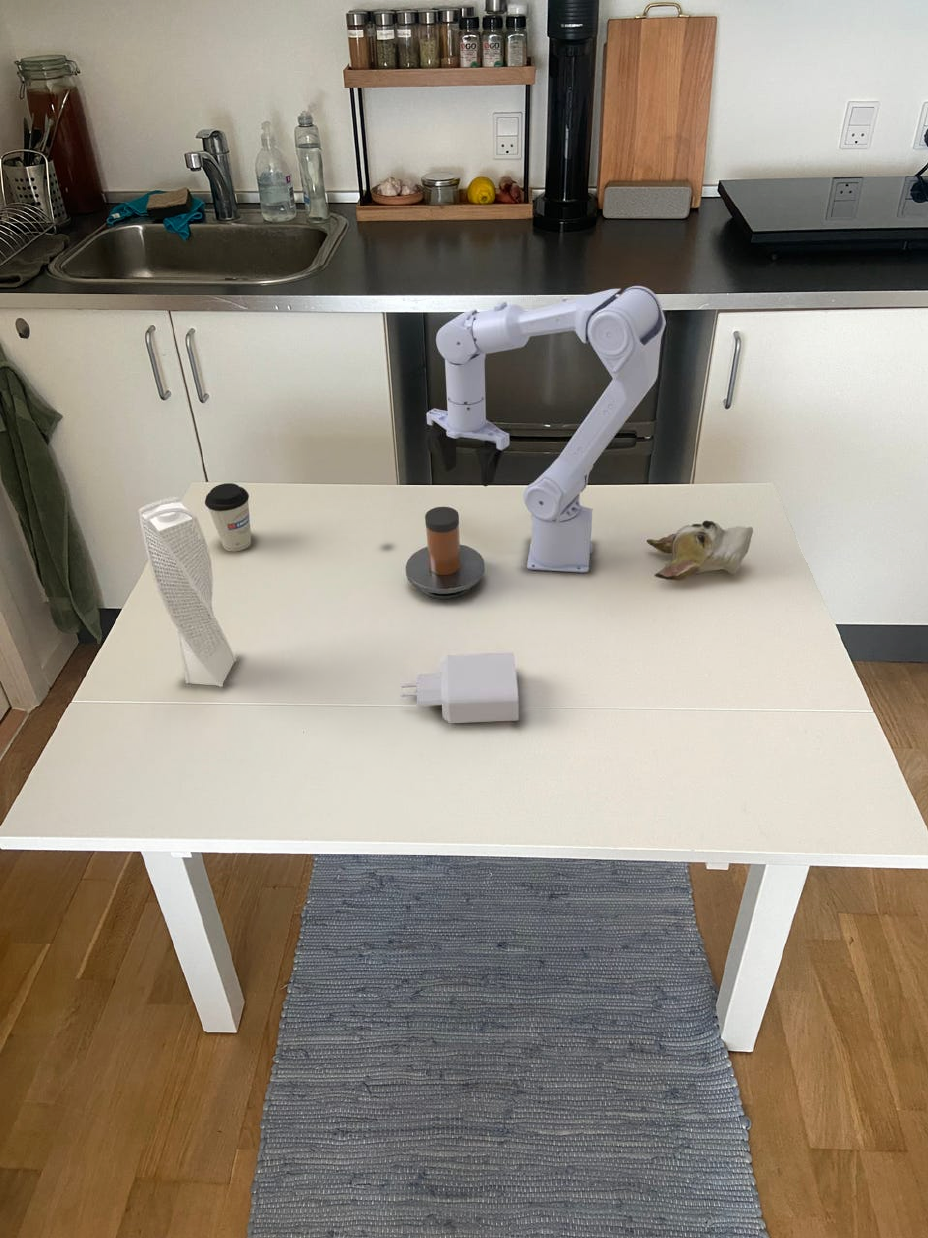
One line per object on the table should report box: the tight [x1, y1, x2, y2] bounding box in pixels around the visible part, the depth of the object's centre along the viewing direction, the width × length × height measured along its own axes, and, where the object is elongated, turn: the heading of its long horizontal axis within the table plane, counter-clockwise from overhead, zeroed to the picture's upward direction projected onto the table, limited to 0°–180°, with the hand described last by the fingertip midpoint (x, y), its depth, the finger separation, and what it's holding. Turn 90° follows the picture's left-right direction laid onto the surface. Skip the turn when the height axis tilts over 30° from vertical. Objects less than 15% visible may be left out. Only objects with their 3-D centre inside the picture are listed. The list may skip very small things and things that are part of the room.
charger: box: [400, 652, 520, 724], centre depth 121 cm, size 5×9×15 cm
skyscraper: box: [137, 496, 237, 688], centre depth 120 cm, size 8×8×28 cm
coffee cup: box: [204, 482, 252, 552], centre depth 151 cm, size 7×7×10 cm
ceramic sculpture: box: [646, 520, 754, 582], centre depth 141 cm, size 11×9×15 cm
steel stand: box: [405, 544, 486, 600], centre depth 142 cm, size 12×12×3 cm
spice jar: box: [424, 506, 461, 575], centre depth 139 cm, size 5×5×9 cm
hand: (468, 476), depth 147 cm, fingers open, 7 cm apart
